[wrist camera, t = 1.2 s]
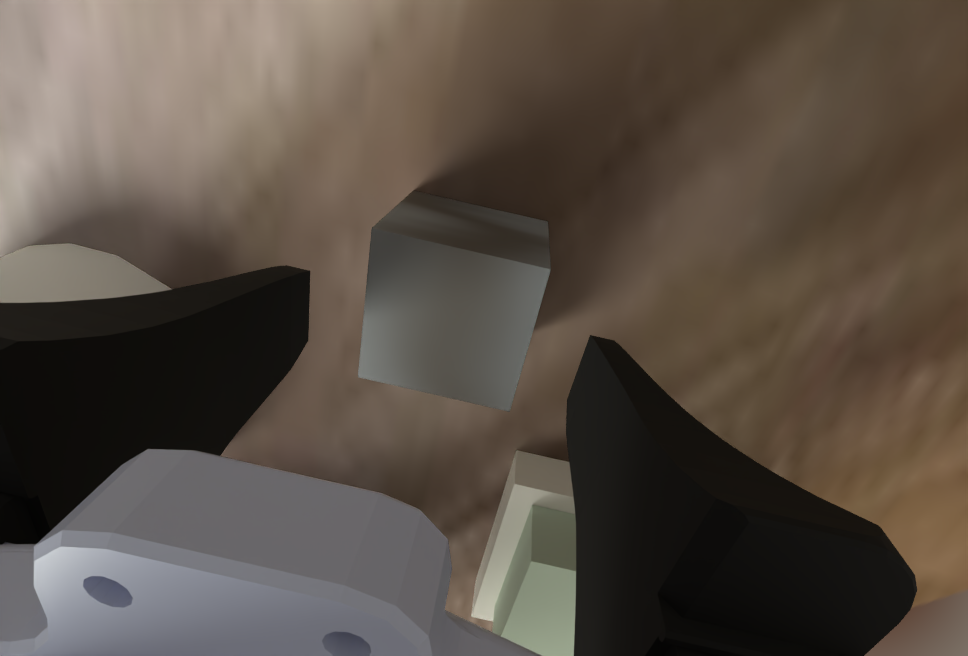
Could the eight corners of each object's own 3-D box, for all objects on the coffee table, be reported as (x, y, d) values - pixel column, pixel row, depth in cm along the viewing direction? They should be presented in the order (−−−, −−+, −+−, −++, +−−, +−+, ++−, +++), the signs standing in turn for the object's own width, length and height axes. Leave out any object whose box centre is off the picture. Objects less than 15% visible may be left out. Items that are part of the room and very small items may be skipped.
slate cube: (398, 310, 18) (357, 377, 14) (414, 189, 16) (371, 228, 12) (516, 337, 18) (509, 411, 14) (548, 221, 16) (550, 269, 12)
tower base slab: (477, 568, 25) (471, 616, 23) (516, 440, 21) (514, 483, 19) (644, 606, 25) (654, 657, 23) (718, 485, 21) (740, 534, 19)
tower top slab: (494, 606, 22) (489, 664, 20) (532, 504, 19) (531, 561, 17) (640, 640, 22) (651, 701, 20) (704, 544, 19) (725, 605, 17)
